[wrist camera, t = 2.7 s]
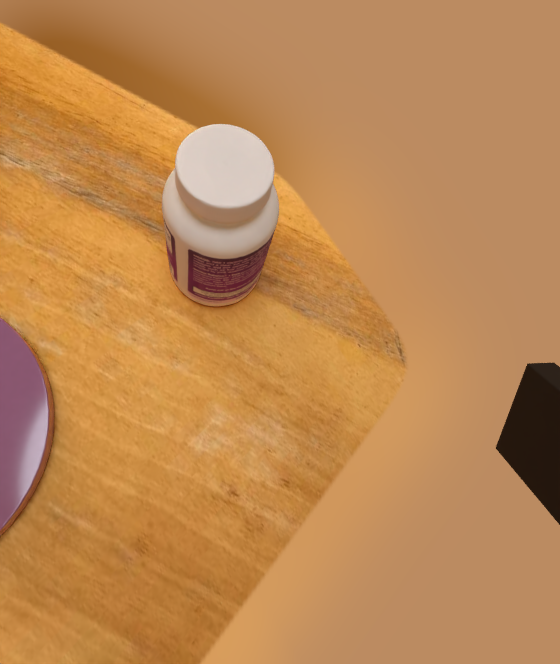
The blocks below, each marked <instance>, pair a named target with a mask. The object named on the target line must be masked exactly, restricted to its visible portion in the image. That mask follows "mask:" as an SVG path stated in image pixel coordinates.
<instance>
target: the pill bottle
mask: <svg viewBox="0 0 560 664" xmlns="http://www.w3.org/2000/svg"><path fill="white" fill-rule="evenodd" d="M273 179H274V164H273V159H272V156H271V154H270V152H269V150H268V149H267V147H266V146H265V145H264V143H263V142H262V141H261V140H260V139H259V138H258V137H257V136H255V135H254V134H252V133H251V132H249V131H247V130H245V129H243V128H240V127H236V126H233V125H227V124H214V125H208V126H205V127H201V128H199V129H197V130H195V131H194V132H192V133H190V134H189V135H188V136H187V137H186V138H185V139H184V140H183V141H182V143H181V145H180V146H179V148H178V151H177V155H176V159H175V169H174V170H173V171H172V173H171V174H170V176H169V177H168V179H167V181H166V184H165V187H164V191H163V196H162V211H163V218H164V226H165V236H166V245H167V253H168V260H169V267H170V272H171V275H172V278H173V280H174V282H175V284H176V285H177V287H178V288H179V289H180V290H181V291H182V292H183V293H184V294H185V295H186V296H187V297H188V298H190V299H192V300H193V301H195V302H198V303H200V304H203V305H207V306H225V305H230V304H233V303H236V302H238V301H240V300H242V299H243V298H244V297H246V296H247V295H248V294H249V293H250V292H251V291H252V290H253V288H254V287H255V285H256V283H257V282H258V279H259V277H260V274H261V271H262V268H263V265H264V262H265V259H266V256H267V252H268V249H269V246H270V244H271V240H272V237H273V234H274V231H275V228H276V225H277V222H278V215H279V202H278V196H277V192H276V189H275V187H274V185H273Z"/></svg>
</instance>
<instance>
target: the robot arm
mask: <svg viewBox="0 0 560 664" xmlns="http://www.w3.org/2000/svg"><path fill="white" fill-rule="evenodd" d="M496 449H497V450H498V451H499V453H500V454H501V455H502V456H503V457H504V459H505V460H506V461H507V462H508V463H509V465H510V466H511V467H512V468H513V469H514V471H515V472H516V473H517V474H518V475H519V477H521V479H522V480H523V481H524V482H525V484H526V485H527V486H528V487H529V489H530V490H531V491H532V492H533V493H534V495H535V496H536V497H537V498H538V499H539V500H540V501H541V503H542V504H543V505H544V507H545V508H546V509H547V510H548V511H549V512H550V514H551V515H552V516H553V517H554V519H555V520H556V521H557V522H558V523H559V524H560V367H559V366H558V365H556V364H555V363H534V364H533V363H532V364H527V366H526V369H525V372H524V374H523V377H522V380H521V382H520V385H519V388H518V390H517V393H516V395H515V398H514V401H513V404H512V406H511V409H510V412H509V414H508V417H507V419H506V422H505V425H504V427H503V430H502V433H501V435H500V438H499V441H498V443H497V447H496Z"/></svg>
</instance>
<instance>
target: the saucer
mask: <svg viewBox="0 0 560 664" xmlns="http://www.w3.org/2000/svg"><path fill="white" fill-rule="evenodd" d="M53 433H54V406H53V396H52V392H51V388H50V384H49V381H48V377H47V375H46V373H45V370H44V368H43V366H42V363H41V362H40V360H39V358H38V357H37V355H36V354H35V352H34V350H33V349H32V348H31V346H30V345H29V344H28V343H27V342H26V340H25V339H24V338H23V337H22V336H21V335H20V334H19V333H18V332H17V331H16V330H14V329H13V328H12V327H11V326H10V325H9V324H8V323H6V322H5V321H4V320H3V319H1V318H0V536H1V535H2V534H3V533H4V532H5V531H6V530H7V529H8V527H9V526H10V525H11V524H12V523H13V522H14V520H15V519H16V518H17V517H18V515H19V514H20V513H21V511H22V510H23V509H24V507H25V506H26V504H27V503H28V501H29V499H30V498H31V496H32V494H33V493H34V491H35V489H36V488H37V485H38V483H39V481H40V479H41V476H42V474H43V472H44V470H45V467H46V463H47V460H48V457H49V454H50V450H51V445H52V439H53Z"/></svg>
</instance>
